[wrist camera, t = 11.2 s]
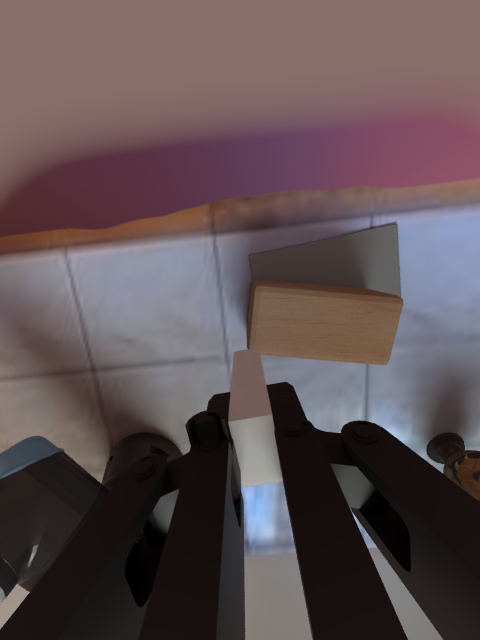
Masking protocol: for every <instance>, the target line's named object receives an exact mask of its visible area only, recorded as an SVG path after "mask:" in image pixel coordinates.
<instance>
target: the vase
mask: <svg viewBox="0 0 480 640" xmlns="http://www.w3.org/2000/svg"><path fill="white" fill-rule="evenodd" d="M464 450H465V445H464V441H463V440H462V438H461V437H460V436H458V435H457V434H453V433H444V434H441V435H439V436H437V437H435V438H434V439H433V440H432V441H430V443H429V445H428V447H427V455H428V457H429V458H430V459H432V460H433V461H435V462H437V463H441V464H445V465H444V470H443V474H444V475H445V476H446V477H448V478H449V479H450V480H452V481H453V482H454V483H456V484H457V485H458V486H460V487H461V488H462V489H463V490H465V491H466V492H467V493H469V494H470V495H471V496H473V497H474V498H475V499H476V500H478V501H479V502H480V451H475V450H466V451H464Z"/></svg>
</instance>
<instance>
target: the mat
mask: <svg viewBox="0 0 480 640" xmlns="http://www.w3.org/2000/svg"><path fill="white" fill-rule="evenodd" d="M249 259H250V265H251V270H252V275H253V280H256V279H263V280H275V281H286V282H298V283H309V284H321V285H332V286H344V287H355V288H366V289H371V290H375V291H380V292H384V293H389V294H393V295H397V296H399V297H400V298H401V287H400V266H399V246H398V226H397V224H394V225H389V226H385V227H380V228H375V229H370V230H366V231H361V232H356V233H352V234H347V235H342V236H337V237H333V238H328V239H323V240H319V241H314V242H309V243H304V244H300V245H295V246H290V247H285V248H281V249H276V250H271V251H267V252H262V253H257V254H252V255H249Z"/></svg>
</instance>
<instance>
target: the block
mask: <svg viewBox="0 0 480 640" xmlns="http://www.w3.org/2000/svg"><path fill="white" fill-rule="evenodd" d="M402 306H403V299H402V298H400V297H399V296H397V295H393V294H389V293H384V292H380V291H375V290H371V289H366V288H355V287H344V286H332V285H321V284H309V283H298V282H286V281H275V280H263V279H256V280H253V282H252V283H251V289H250V300H249V310H248V321H247V348H248V349H254V348H259V352H260V355H270V356H282V357H294V358H305V359H317V360H329V361H340V362H352V363H364V364H375V365H385V364H387V363H388V361H389V358H390V354H391V350H392V346H393V342H394V338H395V334H396V330H397V326H398V322H399V318H400V314H401V310H402Z"/></svg>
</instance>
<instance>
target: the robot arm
mask: <svg viewBox="0 0 480 640" xmlns="http://www.w3.org/2000/svg"><path fill="white" fill-rule="evenodd" d="M185 426H186V430H187V433H188V437H189V441H190V444H191V448H190V452H188V453H187V454H185V455H183V456H182V454H181V452H180V451H179V450H178V448H177V447H176V446H175V445H174V444H173V443H172V442H170V441H169V440H167V439H165V438H163V437H161V436H158V435H155V434H149V433H139V434H134V435H131V436H128V437H126V438H125V439H123V440H122V441H121V442H120V443H119V444H118V445H117V446H116V447H115V449H114V450H113V452H112V453H111V455H110V457H109V459H108V462H107V466H106V469H105V473H104V476H103V480H102V484H101V483H100V482H99V481H97V480H96V479H95V478H94V477H93V476H91V475H90V474H89V473H88V472H87V471H86V470H84V469H83V468H82V467H81V466H80V465H79V464H78V463H76V462H75V461H74V460H73V459H72V458H71V457H70V456H68V455H67V454H66V453H65V452H64V449H62V448H58V447H57V446H55V445H54V444H53V443H51V442H50V441H49V440H47V439H46V438H44V437H42V436H32V437H29V438H26V439H24V440H22V441H20V442H19V443H17V444H15V445H14V446H12V447H10V448H9V449H7V450H6V451H4V452H2V453H1V454H0V605H1V603H2V602H3V601H4V600H5V599H6V597H7V596H8V595H9V593H10V592H11V591H12V589H13V588H14V587H15V585H16V584H19V585H20V586H21V587H23V588H24V589H26V590H27V591H29V592H30V593H29V594H28V595H27V597H26V598H25V599H24V601H23V602H22V603H21V604H20V606H19V607H18V608H17V609H16V611H15V612H14V613H13V614H12V616H11V617H10V618H9V619H8V621H7V622H6V623H5V624H4V626H3V627H2V628H1V629H0V640H245V595H244V594H245V592H244V505H243V498H242V493H241V481H242V486H243V487H248V486H254V485H261V484H268V483H275V482H282V481H283V484H284V489H285V495H286V500H287V506H288V512H289V516H290V522H291V527H292V532H293V538H294V543H295V548H296V553H297V559H298V564H299V569H300V575H301V580H302V585H303V591H304V596H305V601H306V607H307V612H308V617H309V623H310V628H311V633H312V638H313V640H408V639H407V637H406V634H405V633H404V630H403V628H402V625H401V623H400V621H399V619H398V616H397V614H396V612H395V609H394V607H393V605H392V603H391V600H390V598H389V596H388V594H387V592H386V590H385V587H384V584H383V583H382V580H381V578H380V575H379V573H378V571H377V569H376V567H375V564H374V562H373V560H372V557H371V555H370V553H369V550H368V548H367V546H366V544H365V541H364V539H363V537H362V535H361V532H360V530H359V528H358V525H357V523H356V521H355V519H354V516H353V514H354V515H355V516H356V518H357V519H358V521H359V522H360V523H361V525H362V526H363V528H364V529H365V530H366V532H367V533H368V535H369V536H370V537H371V539H372V540H373V542H374V543H375V544H376V546H377V547H378V549H379V550H380V551H381V553H382V554H383V556H384V557H385V558H386V560H387V561H388V563H389V564H390V565H391V567H392V568H393V570H394V571H395V572H396V574H397V575H398V577H399V578H400V579H401V581H402V582H403V584H404V585H405V586H406V588H407V589H408V591H409V592H410V593H411V595H412V596H413V598H414V599H415V600H416V602H417V603H418V605H419V606H420V607H421V609H422V610H423V612H424V613H425V614H426V616H427V617H428V619H429V620H430V621H431V623H432V624H433V626H434V627H435V629H436V630H437V631H438V633H439V634H440V635H441V637H442V638H443V640H480V502H479V501H478V500H476V499H475V498H474V497H473V496H471V495H470V494H469V493H467V492H466V491H465V490H463V489H462V488H461V487H460V486H458V485H457V484H456V483H454V482H453V481H452V480H450V479H449V478H448V477H446V476H445V475H444V474H443V473H441V472H440V471H439V470H437V469H436V468H435V467H433V466H432V465H431V464H429V463H428V462H427V461H426V460H424V459H423V458H422V457H420V456H419V455H418V454H416V453H415V452H414V451H413V450H411V449H410V448H409V447H407V446H406V445H405V444H403V443H402V442H401V441H399V440H398V439H397V438H396V437H394V436H393V435H392V434H390V433H389V432H388V431H386V430H385V429H384V428H382V427H380V426H379V425H377V424H375V423H371V422H368V421H352V422H349V423H347V424H345V425H344V426H343V428H342V429H341V433H332V432H325V431H321V430H318V429H316V428H315V427H314V426H313V425H312V423H311V422H310V421H308V420H307V418H306V416H305V413H304V411H303V409H302V406H301V404H300V402H299V399H298V397H297V395H296V392H295V390H294V387H293V386H292V385H290V384H289V383H288V382H282V383H276V384H270V385H266V382H265V377H264V372H263V367H262V362H261V357H260V352H259V348H254V349H248V350H242V351H237V352H234V357H233V369H232V381H231V392H227V393H221V394H215V395H214V396H213V397H212V398H211V399H210V400H209V402H208V407H207V410H206V411H203V412H200V413H198V414H196V415H194V416H193V417H192V418H190V419H189V420H188V422H187V423H186V425H185ZM350 508H351V510H352V512H353V514H352V512H351V510H350Z"/></svg>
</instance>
